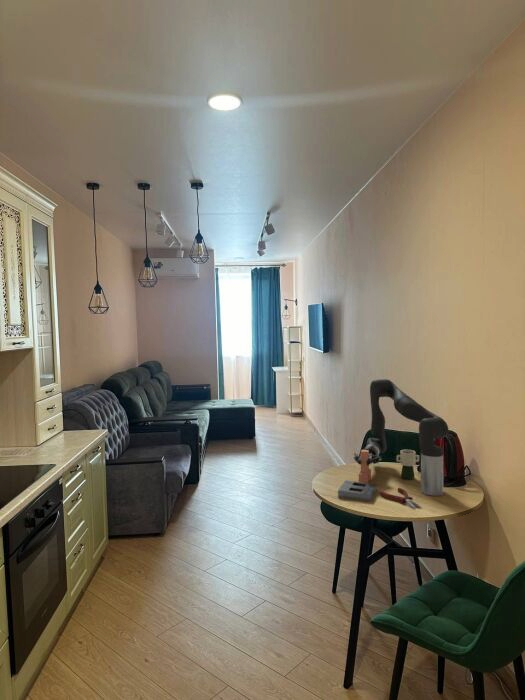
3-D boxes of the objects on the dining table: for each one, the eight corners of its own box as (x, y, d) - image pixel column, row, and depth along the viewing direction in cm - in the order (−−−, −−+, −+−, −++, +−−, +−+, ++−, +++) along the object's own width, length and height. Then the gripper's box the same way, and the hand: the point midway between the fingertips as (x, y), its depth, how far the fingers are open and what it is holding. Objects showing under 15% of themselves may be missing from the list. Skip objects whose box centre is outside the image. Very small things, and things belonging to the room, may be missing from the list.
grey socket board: (376, 490, 207) (376, 484, 207) (370, 501, 194) (370, 494, 194) (345, 486, 213) (345, 480, 212) (338, 497, 200) (338, 490, 200)
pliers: (406, 513, 183) (406, 506, 183) (378, 495, 202) (378, 489, 202) (430, 509, 187) (430, 502, 187) (400, 492, 206) (400, 486, 206)
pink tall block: (370, 479, 221) (370, 448, 220) (367, 485, 213) (367, 453, 212) (362, 478, 223) (362, 447, 222) (358, 484, 215) (358, 452, 214)
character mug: (417, 475, 227) (417, 449, 226) (421, 480, 220) (421, 453, 219) (394, 475, 227) (394, 449, 227) (398, 480, 220) (398, 453, 219)
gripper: (356, 444, 233) (348, 453, 217) (384, 447, 227) (378, 456, 212) (356, 459, 233) (348, 469, 218) (384, 462, 228) (378, 472, 212)
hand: (363, 462), depth 215 cm, fingers closed on pink tall block, 3 cm apart
